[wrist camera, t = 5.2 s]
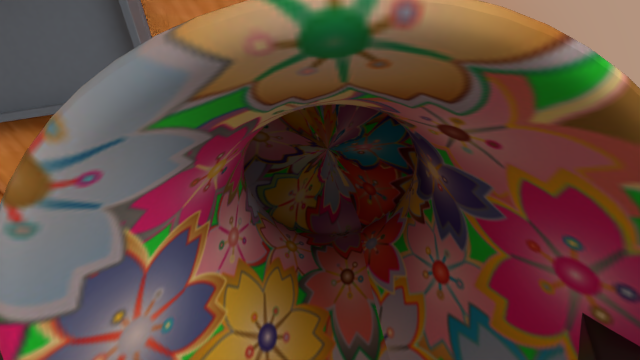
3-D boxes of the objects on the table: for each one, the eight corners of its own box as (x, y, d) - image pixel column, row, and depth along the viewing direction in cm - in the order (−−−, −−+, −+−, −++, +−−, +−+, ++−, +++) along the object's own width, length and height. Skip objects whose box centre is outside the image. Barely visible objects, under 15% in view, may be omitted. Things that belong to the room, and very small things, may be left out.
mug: (173, 88, 13) (-218, 227, 4) (395, -21, 12) (741, -280, 2) (301, 304, 18) (283, 634, 8) (476, 241, 16) (718, 550, 6)
